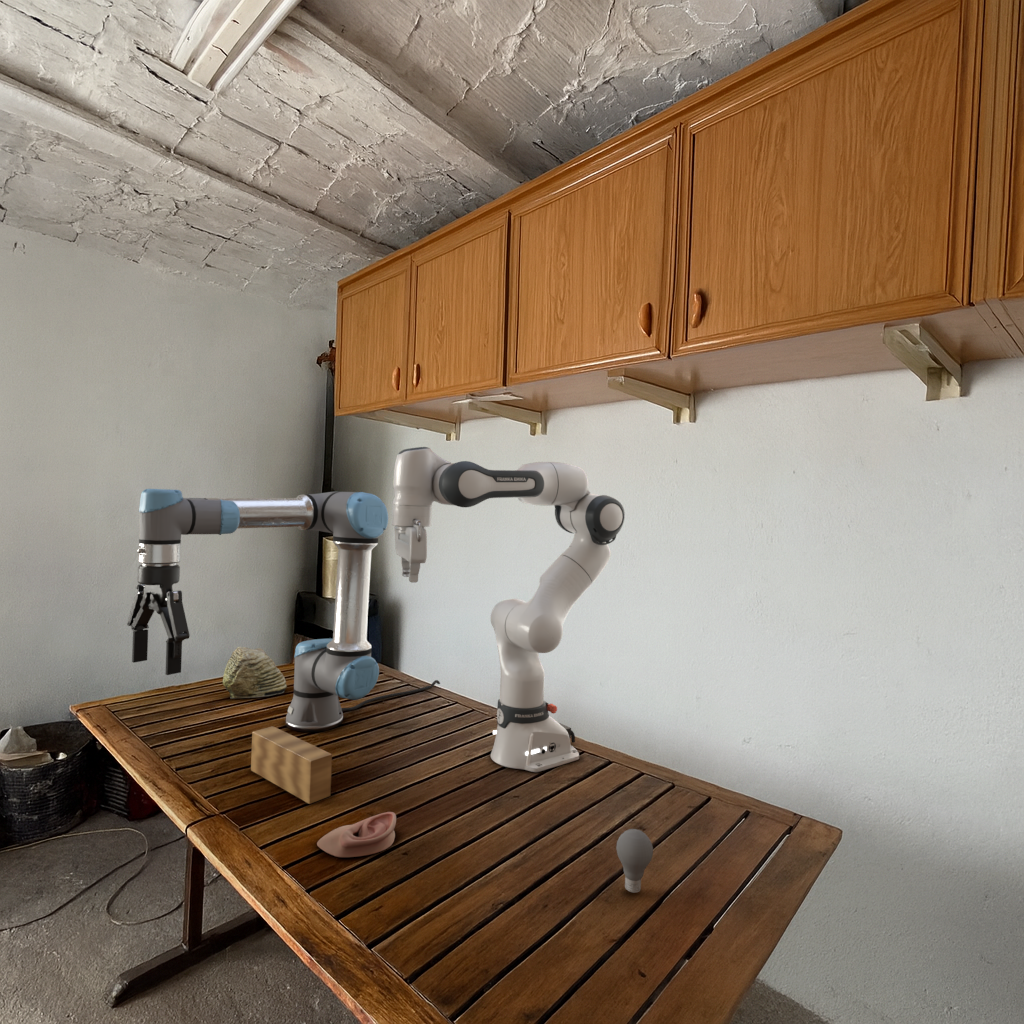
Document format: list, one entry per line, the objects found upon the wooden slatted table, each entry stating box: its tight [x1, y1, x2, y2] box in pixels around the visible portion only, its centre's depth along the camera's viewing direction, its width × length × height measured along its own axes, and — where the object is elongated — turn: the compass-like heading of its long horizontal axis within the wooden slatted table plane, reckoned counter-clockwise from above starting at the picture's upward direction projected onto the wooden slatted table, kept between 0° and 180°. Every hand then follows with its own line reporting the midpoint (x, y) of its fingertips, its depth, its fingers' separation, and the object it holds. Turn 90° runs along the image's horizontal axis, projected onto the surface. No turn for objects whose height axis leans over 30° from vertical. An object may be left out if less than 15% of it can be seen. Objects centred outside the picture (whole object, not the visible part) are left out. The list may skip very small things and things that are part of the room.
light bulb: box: [615, 828, 654, 894], centre depth 106 cm, size 6×6×10 cm
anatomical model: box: [316, 811, 397, 858], centre depth 117 cm, size 13×4×12 cm
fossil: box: [222, 646, 288, 699], centre depth 198 cm, size 9×18×15 cm, turn 132°
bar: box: [250, 725, 333, 805], centre depth 140 cm, size 23×5×9 cm, turn 51°
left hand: (156, 667), depth 130 cm, fingers open, 13 cm apart
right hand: (409, 579), depth 144 cm, fingers open, 8 cm apart
